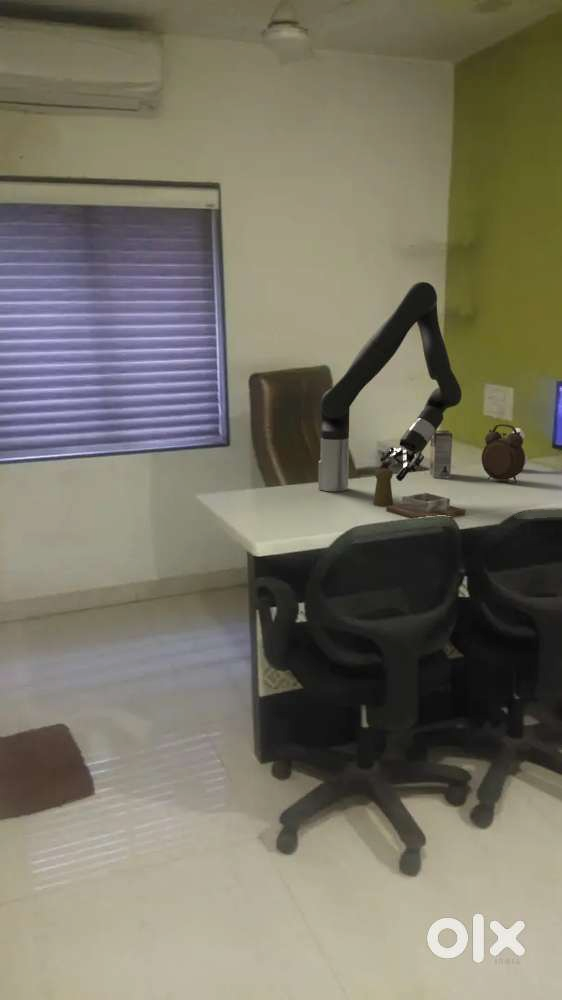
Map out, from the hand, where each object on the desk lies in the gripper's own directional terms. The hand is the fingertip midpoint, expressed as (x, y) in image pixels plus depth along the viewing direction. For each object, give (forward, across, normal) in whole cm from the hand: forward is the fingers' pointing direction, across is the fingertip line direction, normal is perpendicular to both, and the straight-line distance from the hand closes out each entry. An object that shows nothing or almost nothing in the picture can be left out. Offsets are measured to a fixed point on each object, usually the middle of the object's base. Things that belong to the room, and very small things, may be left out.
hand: (388, 477), depth 232 cm
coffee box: (-26, -23, +38) cm, 51 cm away
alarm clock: (-33, -3, +45) cm, 56 cm away
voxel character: (-48, -15, +60) cm, 78 cm away
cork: (+7, 0, +5) cm, 9 cm away
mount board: (+5, +15, +6) cm, 17 cm away
